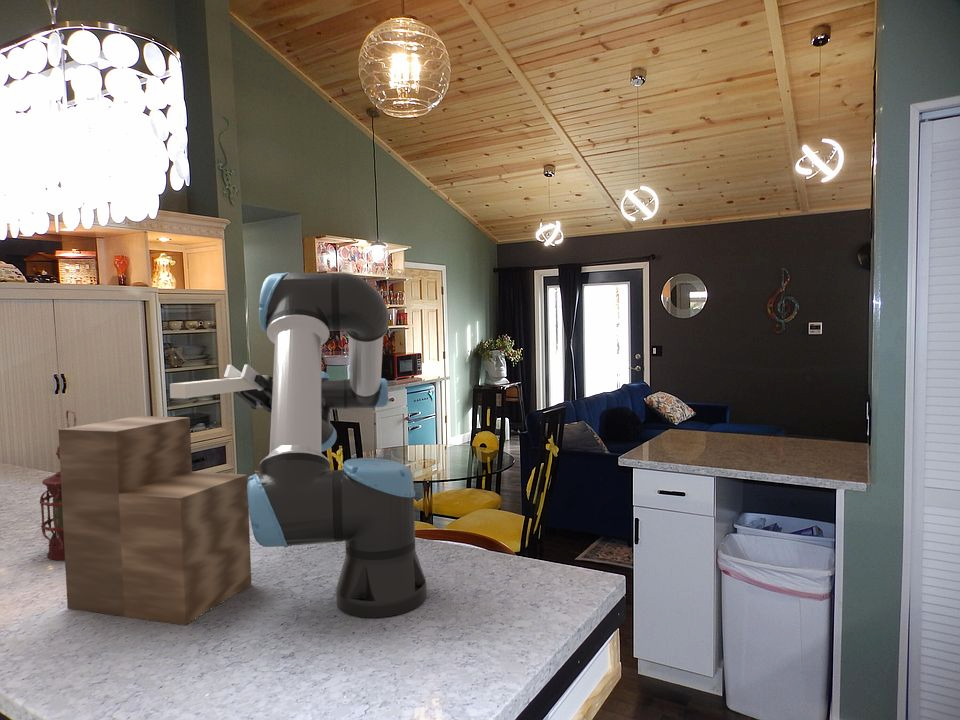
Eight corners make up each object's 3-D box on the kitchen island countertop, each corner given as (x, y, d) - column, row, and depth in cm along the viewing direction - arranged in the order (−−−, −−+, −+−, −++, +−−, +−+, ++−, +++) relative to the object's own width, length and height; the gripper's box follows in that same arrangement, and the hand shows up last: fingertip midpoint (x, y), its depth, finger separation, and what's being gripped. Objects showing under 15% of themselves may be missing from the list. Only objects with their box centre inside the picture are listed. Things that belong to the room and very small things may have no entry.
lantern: (118, 550, 131) (111, 409, 130) (48, 567, 123) (40, 415, 121) (102, 537, 140) (96, 404, 138) (37, 552, 131) (29, 410, 130)
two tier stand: (144, 571, 119) (137, 416, 118) (251, 584, 112) (245, 418, 111) (67, 608, 104) (58, 429, 102) (185, 625, 97) (177, 433, 95)
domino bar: (254, 387, 132) (254, 375, 132) (267, 387, 131) (267, 375, 131) (170, 398, 109) (169, 383, 109) (185, 398, 108) (184, 383, 108)
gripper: (322, 432, 140) (266, 387, 120) (259, 430, 144) (195, 387, 124) (329, 401, 143) (276, 353, 123) (268, 400, 148) (207, 354, 128)
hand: (235, 370), depth 124 cm, fingers closed on domino bar, 3 cm apart
